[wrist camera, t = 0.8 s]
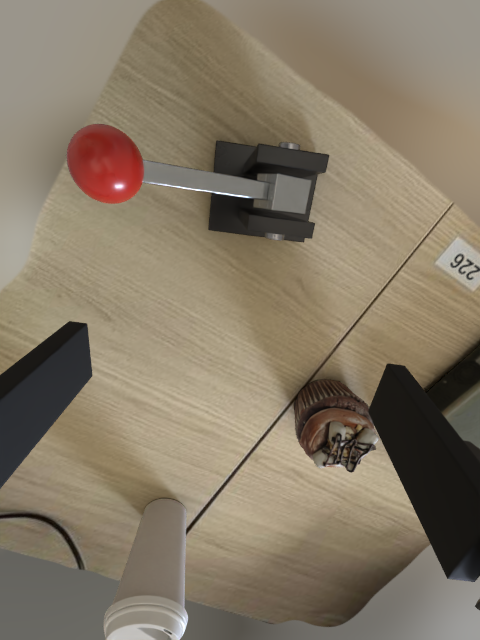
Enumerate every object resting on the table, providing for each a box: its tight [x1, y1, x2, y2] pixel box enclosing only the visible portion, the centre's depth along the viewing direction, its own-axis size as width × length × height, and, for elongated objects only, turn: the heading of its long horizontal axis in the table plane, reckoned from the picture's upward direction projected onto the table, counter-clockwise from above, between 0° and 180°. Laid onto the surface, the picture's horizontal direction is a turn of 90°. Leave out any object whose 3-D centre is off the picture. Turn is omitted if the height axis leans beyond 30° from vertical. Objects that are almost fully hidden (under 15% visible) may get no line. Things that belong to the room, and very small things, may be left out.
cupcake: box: [294, 380, 379, 472], centre depth 37 cm, size 10×10×10 cm
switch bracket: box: [209, 141, 329, 242], centre depth 25 cm, size 10×8×13 cm
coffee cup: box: [104, 499, 188, 640], centre depth 41 cm, size 10×10×15 cm
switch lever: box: [67, 124, 311, 215], centre depth 18 cm, size 14×4×4 cm, turn 81°
